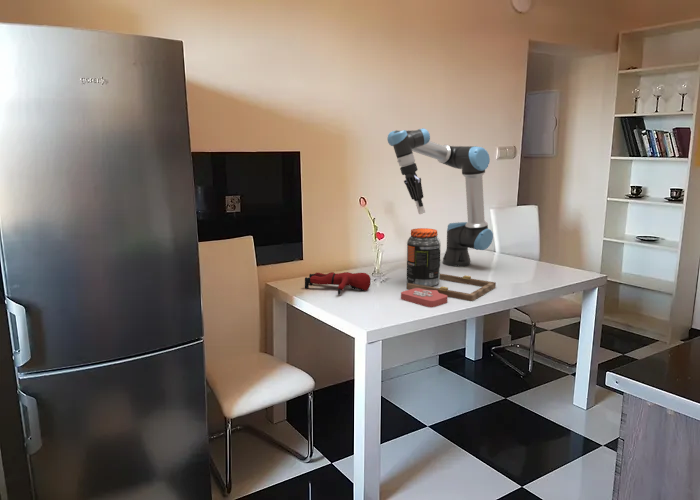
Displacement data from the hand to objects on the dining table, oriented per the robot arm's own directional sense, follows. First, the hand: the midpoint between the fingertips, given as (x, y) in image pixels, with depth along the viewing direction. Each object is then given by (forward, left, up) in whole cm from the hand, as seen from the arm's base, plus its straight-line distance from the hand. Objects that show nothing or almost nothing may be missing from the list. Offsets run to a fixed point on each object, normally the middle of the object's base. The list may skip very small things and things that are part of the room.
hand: (422, 213), depth 253 cm
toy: (+30, -26, -34) cm, 53 cm away
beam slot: (-1, +15, -34) cm, 37 cm away
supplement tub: (-1, +1, -34) cm, 34 cm away
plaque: (+22, +15, -35) cm, 44 cm away
